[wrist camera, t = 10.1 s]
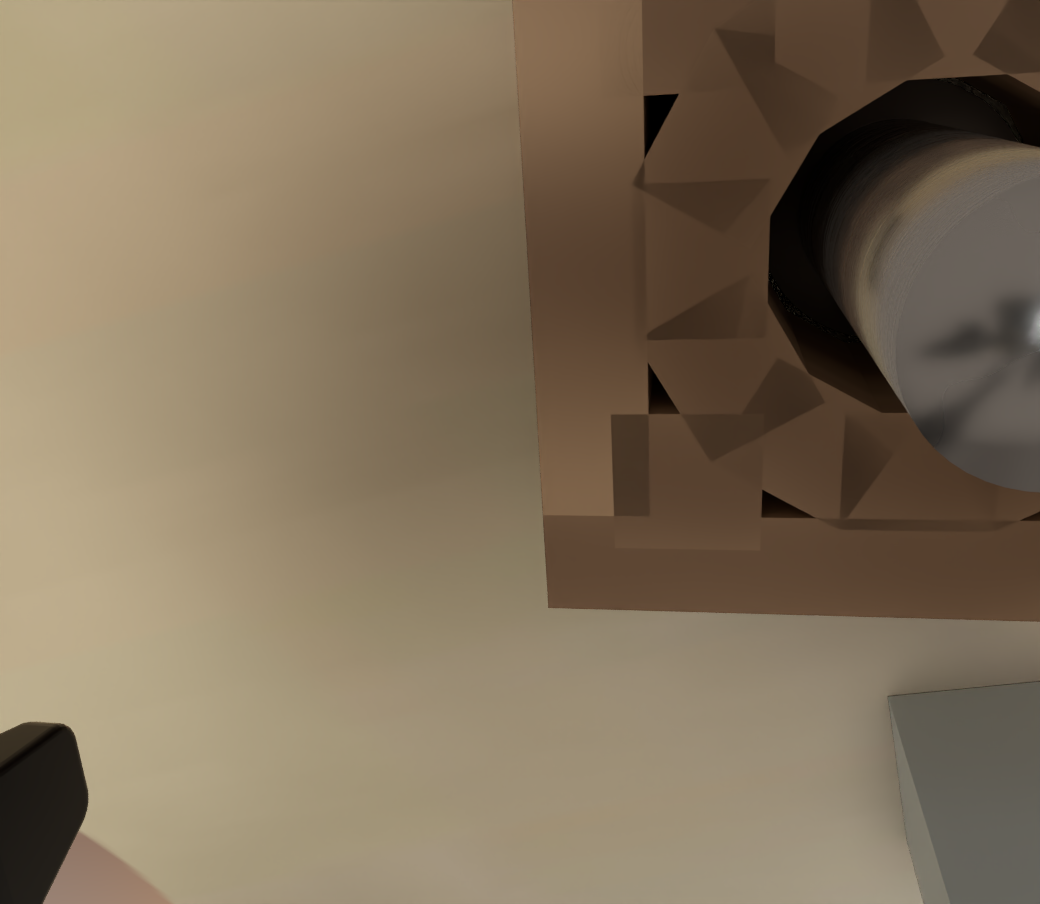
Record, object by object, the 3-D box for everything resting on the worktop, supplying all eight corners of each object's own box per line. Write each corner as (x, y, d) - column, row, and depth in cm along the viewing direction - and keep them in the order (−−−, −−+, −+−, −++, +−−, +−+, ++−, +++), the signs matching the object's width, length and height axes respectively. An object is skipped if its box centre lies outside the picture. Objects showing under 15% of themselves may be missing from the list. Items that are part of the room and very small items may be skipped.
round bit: (975, 299, 18) (1221, 495, 10) (793, 302, 19) (884, 491, 10) (995, 113, 17) (1292, 159, 9) (801, 122, 18) (910, 173, 9)
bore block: (1194, 518, 19) (1313, 629, 16) (573, 510, 21) (548, 607, 18) (1344, -215, 15) (1559, -302, 11) (543, -135, 17) (501, -186, 13)
